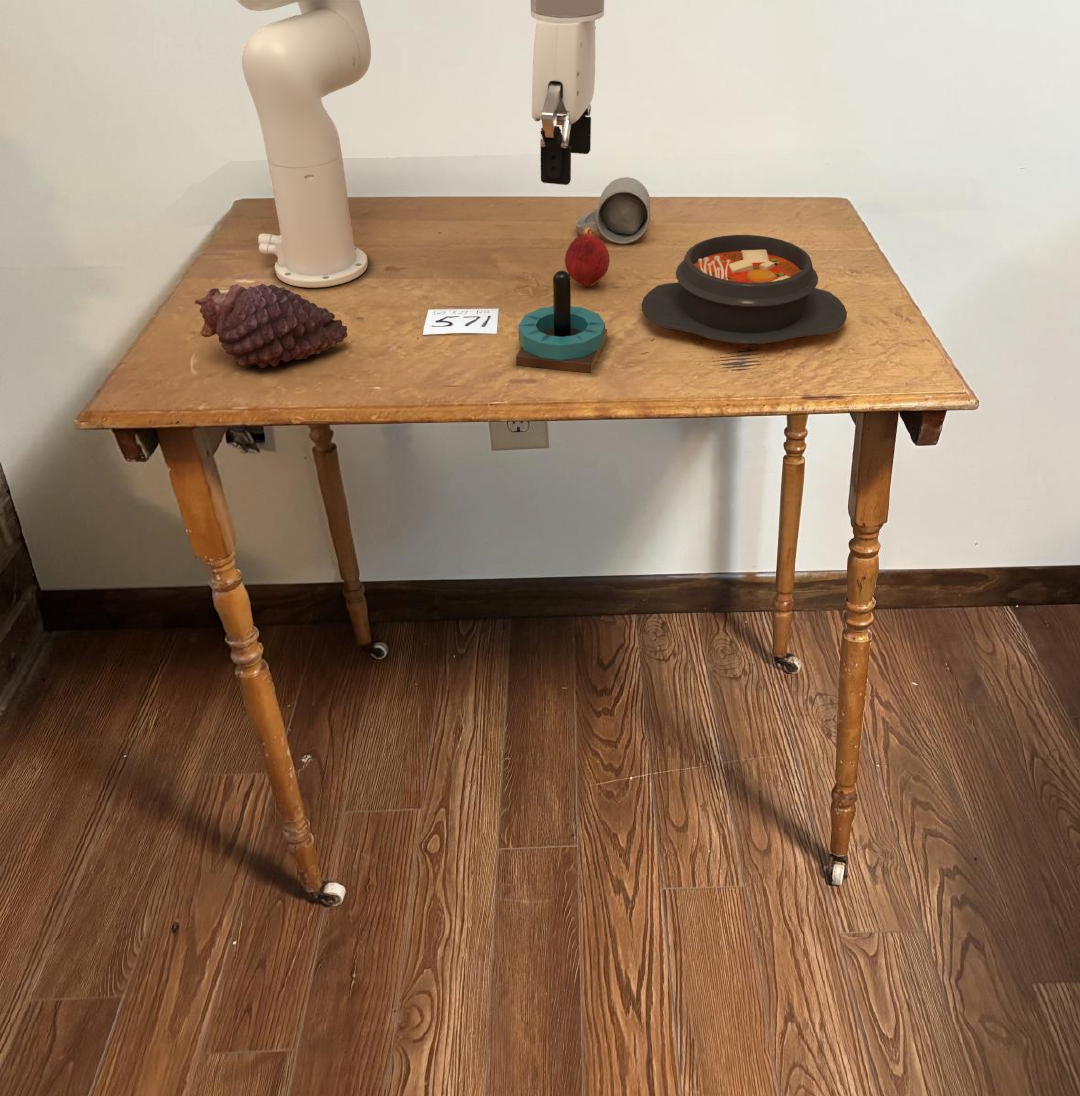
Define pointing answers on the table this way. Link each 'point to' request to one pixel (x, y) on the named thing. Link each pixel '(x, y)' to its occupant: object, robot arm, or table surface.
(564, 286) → the stand
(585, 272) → the onion
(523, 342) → the ring
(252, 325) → the pine cone
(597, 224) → the ceramic mug
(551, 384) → the table surface
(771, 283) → the casserole
